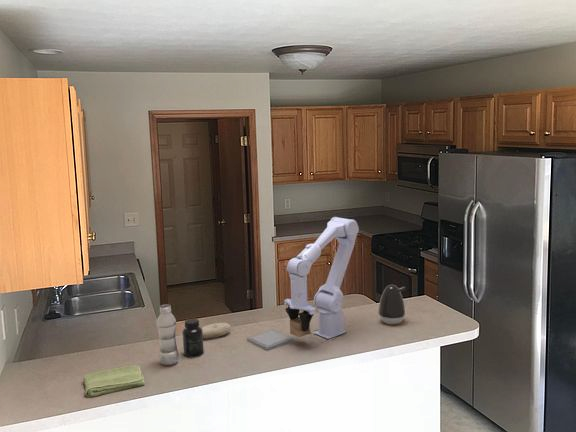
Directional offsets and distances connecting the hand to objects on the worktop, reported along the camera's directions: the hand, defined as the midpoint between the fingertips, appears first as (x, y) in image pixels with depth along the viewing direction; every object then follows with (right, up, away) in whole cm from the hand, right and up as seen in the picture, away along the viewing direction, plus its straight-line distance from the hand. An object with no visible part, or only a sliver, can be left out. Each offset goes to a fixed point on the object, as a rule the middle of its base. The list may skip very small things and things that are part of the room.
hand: (300, 328), depth 193 cm
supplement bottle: (-37, -8, -4) cm, 38 cm away
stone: (-32, -5, +11) cm, 34 cm away
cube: (0, -2, 0) cm, 2 cm away
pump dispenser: (+36, -2, +19) cm, 41 cm away
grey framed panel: (-11, -6, +5) cm, 13 cm away
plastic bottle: (-44, -10, -11) cm, 47 cm away
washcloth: (-59, -13, -24) cm, 65 cm away
